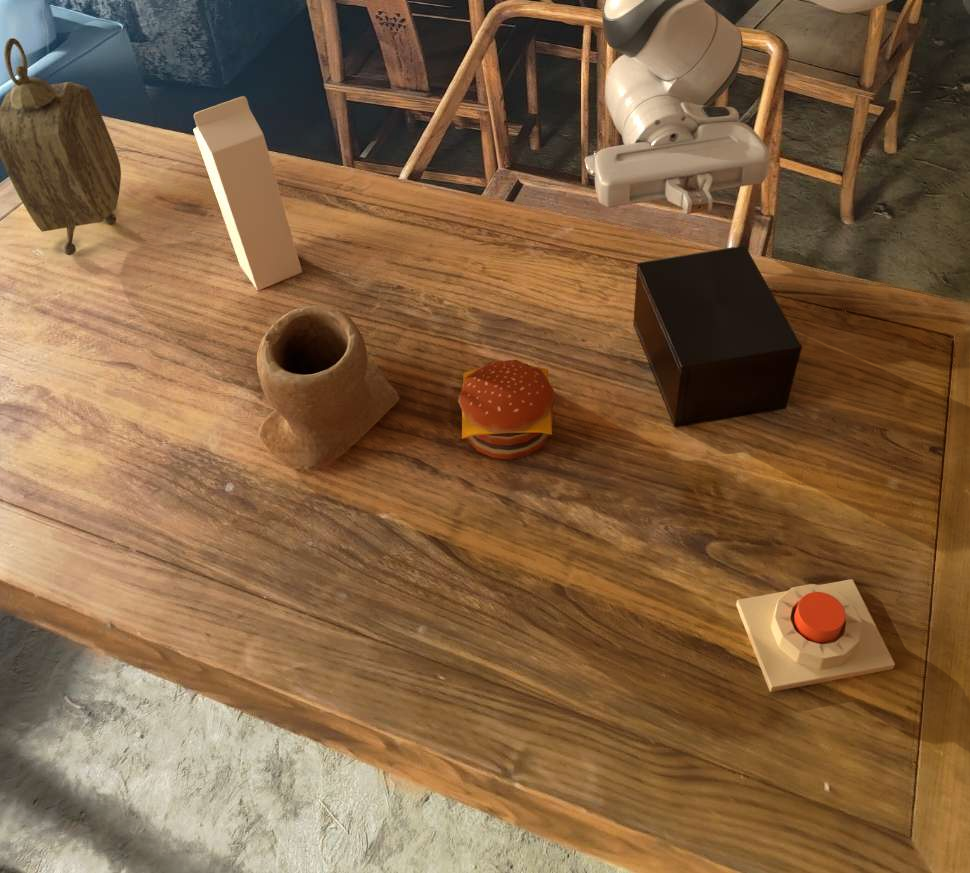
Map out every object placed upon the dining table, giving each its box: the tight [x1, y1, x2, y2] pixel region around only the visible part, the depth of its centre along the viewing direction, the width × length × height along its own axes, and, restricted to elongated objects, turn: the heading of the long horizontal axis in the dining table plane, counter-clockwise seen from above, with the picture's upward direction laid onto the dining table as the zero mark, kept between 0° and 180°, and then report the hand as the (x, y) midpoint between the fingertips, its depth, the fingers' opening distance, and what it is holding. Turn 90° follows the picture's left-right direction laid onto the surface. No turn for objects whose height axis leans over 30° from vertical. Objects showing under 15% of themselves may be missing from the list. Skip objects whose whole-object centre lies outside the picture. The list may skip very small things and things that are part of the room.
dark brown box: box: [632, 245, 803, 428], centre depth 95 cm, size 16×12×9 cm
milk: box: [193, 95, 303, 291], centre depth 106 cm, size 6×6×22 cm
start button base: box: [735, 579, 896, 693], centre depth 75 cm, size 10×8×4 cm
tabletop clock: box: [0, 37, 122, 256], centre depth 113 cm, size 14×9×25 cm, turn 10°
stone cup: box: [256, 304, 400, 472], centre depth 90 cm, size 15×12×15 cm
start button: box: [794, 592, 846, 643], centre depth 73 cm, size 4×4×2 cm
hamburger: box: [457, 359, 556, 460], centre depth 92 cm, size 9×10×7 cm
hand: (699, 207), depth 104 cm, fingers closed
